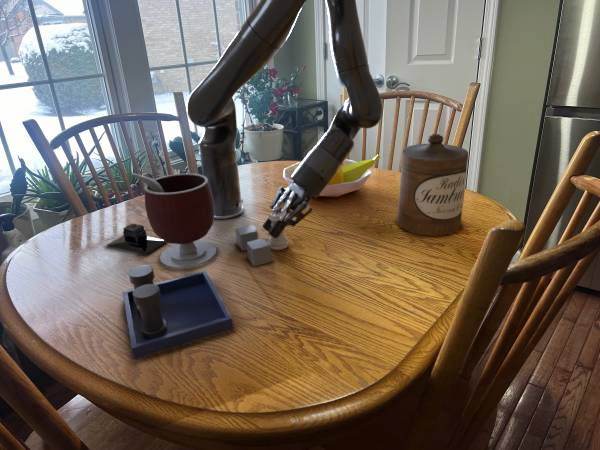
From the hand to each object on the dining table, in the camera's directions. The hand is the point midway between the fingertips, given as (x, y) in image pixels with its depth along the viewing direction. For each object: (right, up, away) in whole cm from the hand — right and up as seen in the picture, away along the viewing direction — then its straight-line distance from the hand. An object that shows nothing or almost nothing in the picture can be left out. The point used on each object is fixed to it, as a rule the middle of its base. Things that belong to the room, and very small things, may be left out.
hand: (269, 232), depth 97 cm
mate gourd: (-19, -5, 0) cm, 19 cm away
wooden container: (+38, +2, +10) cm, 40 cm away
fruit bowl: (+16, +12, +35) cm, 41 cm away
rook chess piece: (+2, -3, +3) cm, 5 cm away
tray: (-15, -14, -20) cm, 29 cm away
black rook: (-20, -13, -19) cm, 31 cm away
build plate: (-32, -3, +7) cm, 33 cm away
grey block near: (-2, -6, -3) cm, 7 cm away
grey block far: (-5, -3, +4) cm, 7 cm away
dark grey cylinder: (-17, -16, -25) cm, 34 cm away
